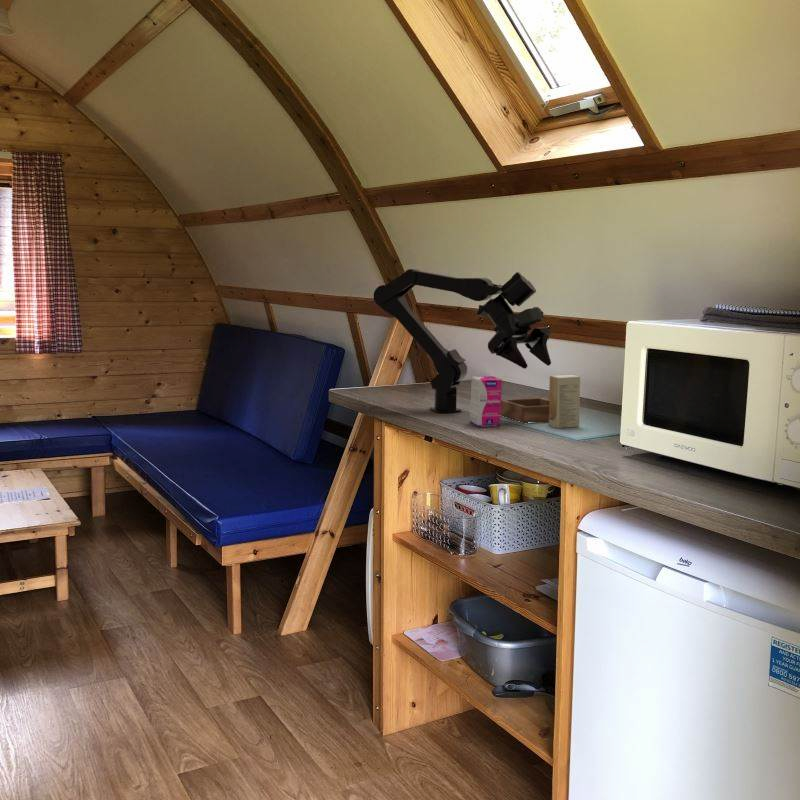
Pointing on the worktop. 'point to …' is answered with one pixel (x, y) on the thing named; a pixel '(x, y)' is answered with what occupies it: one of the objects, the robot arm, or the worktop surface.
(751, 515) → the worktop surface
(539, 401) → the shallow wooden tray
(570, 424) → the skincare box
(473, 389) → the supplement box
